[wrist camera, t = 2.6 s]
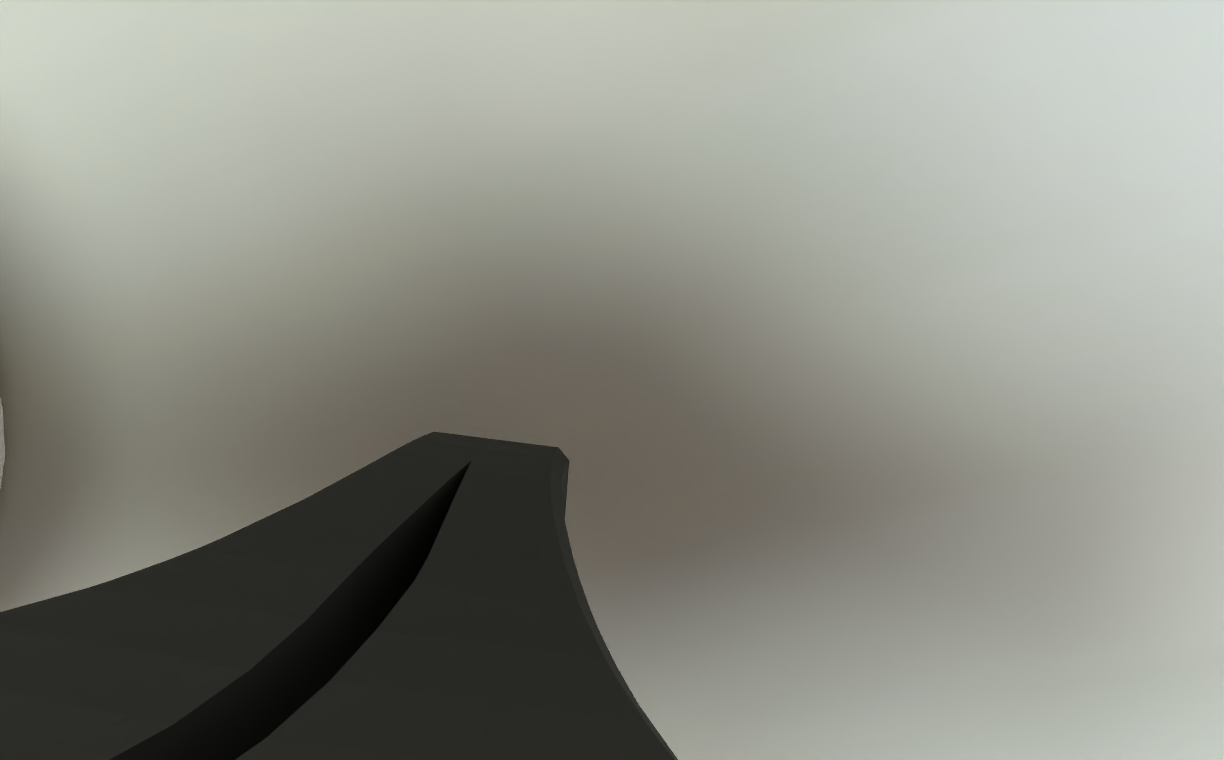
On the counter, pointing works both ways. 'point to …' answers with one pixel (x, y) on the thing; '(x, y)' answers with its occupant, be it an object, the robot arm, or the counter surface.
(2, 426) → the ramekin
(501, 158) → the counter surface
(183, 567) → the robot arm
